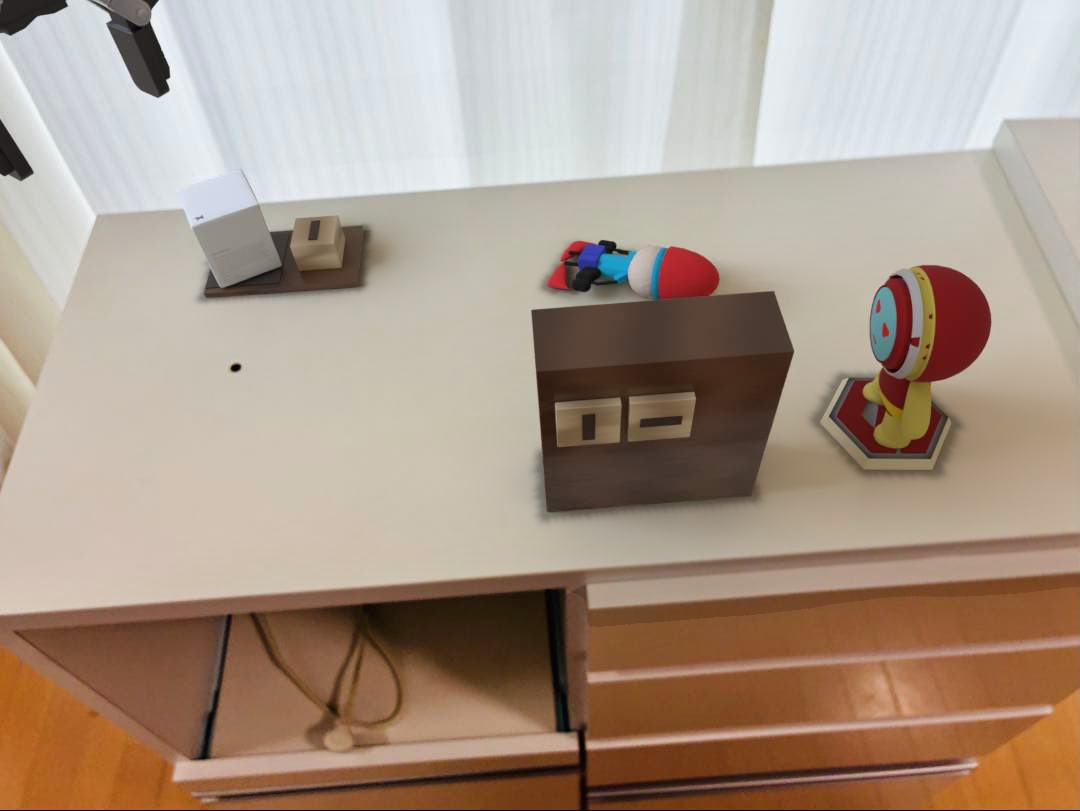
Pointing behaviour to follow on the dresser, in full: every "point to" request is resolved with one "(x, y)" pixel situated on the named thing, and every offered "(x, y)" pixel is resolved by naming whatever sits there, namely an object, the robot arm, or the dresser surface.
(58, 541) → the dresser surface
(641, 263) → the toy figure
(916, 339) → the figurine
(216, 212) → the product box
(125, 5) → the robot arm
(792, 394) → the dresser surface
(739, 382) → the dark wooden block
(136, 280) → the dresser surface
